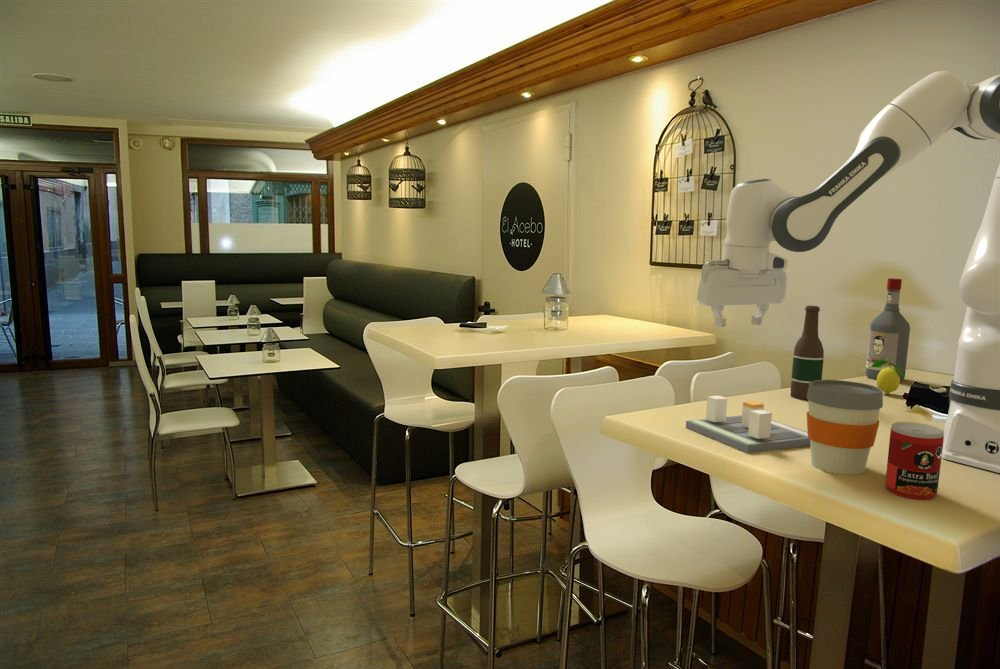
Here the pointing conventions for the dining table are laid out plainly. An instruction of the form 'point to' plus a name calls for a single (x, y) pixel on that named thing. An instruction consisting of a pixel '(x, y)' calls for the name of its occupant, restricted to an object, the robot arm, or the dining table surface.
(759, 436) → the block
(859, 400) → the reusable coffee cup
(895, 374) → the lemon
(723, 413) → the block
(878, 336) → the liquor
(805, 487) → the dining table surface
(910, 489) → the canned food
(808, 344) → the beer bottle
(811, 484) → the dining table surface
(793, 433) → the panel
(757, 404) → the block
